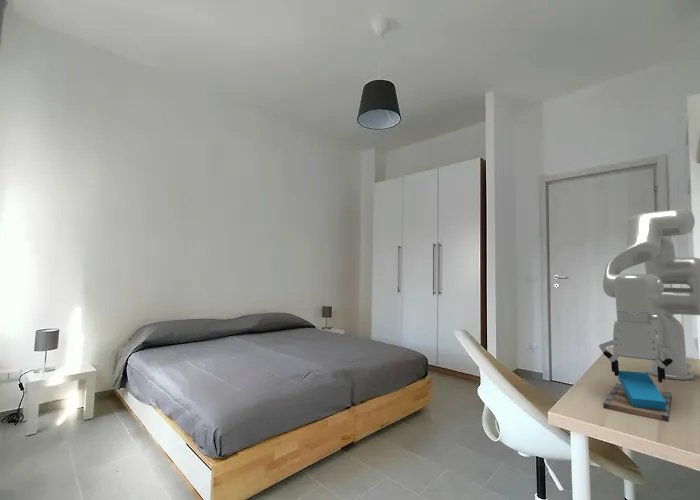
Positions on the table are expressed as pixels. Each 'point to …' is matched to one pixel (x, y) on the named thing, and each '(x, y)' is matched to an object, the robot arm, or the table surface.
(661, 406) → the lever
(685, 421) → the table surface
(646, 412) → the ribbed board
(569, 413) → the table surface
